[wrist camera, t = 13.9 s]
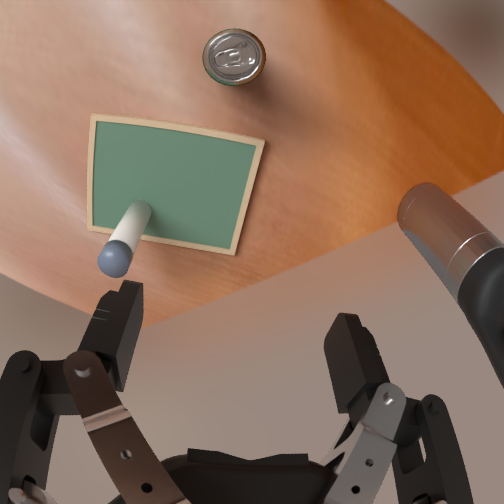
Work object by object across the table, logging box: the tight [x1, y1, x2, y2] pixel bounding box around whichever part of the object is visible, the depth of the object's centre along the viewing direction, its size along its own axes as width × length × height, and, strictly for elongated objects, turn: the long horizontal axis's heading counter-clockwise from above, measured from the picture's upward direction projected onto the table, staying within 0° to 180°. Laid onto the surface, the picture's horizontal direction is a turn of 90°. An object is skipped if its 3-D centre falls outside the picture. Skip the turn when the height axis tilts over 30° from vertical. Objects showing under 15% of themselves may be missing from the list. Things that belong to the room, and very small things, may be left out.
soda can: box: [203, 29, 266, 86], centre depth 25 cm, size 5×5×12 cm
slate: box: [87, 113, 265, 256], centre depth 38 cm, size 22×17×1 cm
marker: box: [98, 200, 152, 278], centre depth 34 cm, size 3×3×12 cm
